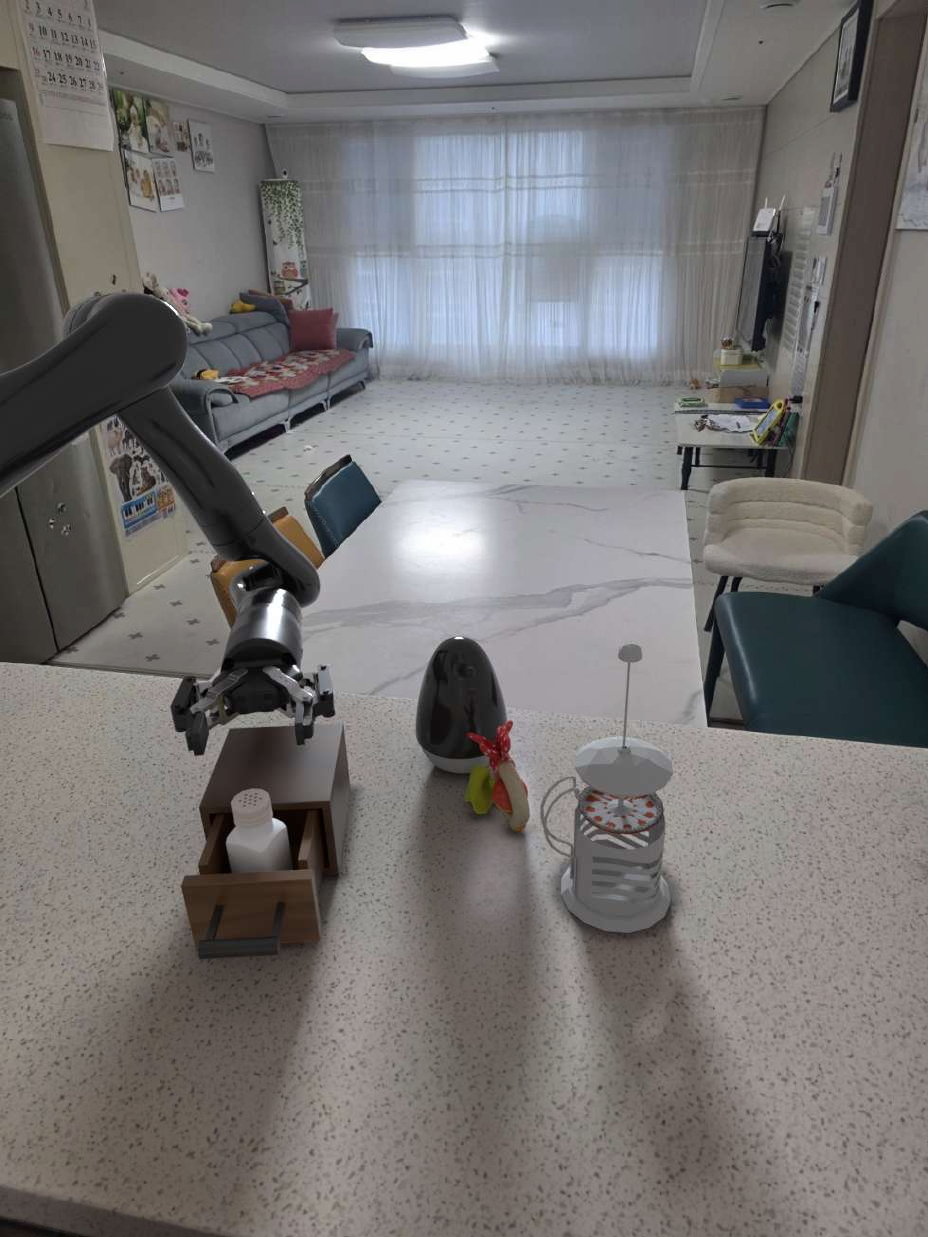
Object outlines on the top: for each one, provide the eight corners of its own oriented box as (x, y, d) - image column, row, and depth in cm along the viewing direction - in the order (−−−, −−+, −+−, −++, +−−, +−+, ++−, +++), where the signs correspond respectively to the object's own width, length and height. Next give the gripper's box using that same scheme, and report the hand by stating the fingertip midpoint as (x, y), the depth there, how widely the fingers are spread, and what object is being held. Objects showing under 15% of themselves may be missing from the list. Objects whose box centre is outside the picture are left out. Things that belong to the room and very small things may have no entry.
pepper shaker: (259, 865, 75) (244, 781, 71) (297, 876, 74) (284, 790, 70) (233, 895, 72) (215, 809, 68) (271, 907, 71) (256, 819, 66)
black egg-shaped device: (427, 795, 87) (419, 669, 80) (410, 741, 96) (402, 624, 89) (520, 779, 89) (520, 655, 82) (494, 727, 98) (492, 612, 91)
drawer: (313, 991, 64) (302, 927, 61) (178, 998, 64) (162, 934, 61) (334, 847, 79) (327, 789, 76) (225, 852, 79) (214, 795, 76)
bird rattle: (544, 835, 84) (504, 763, 89) (570, 777, 76) (525, 702, 81) (490, 855, 82) (452, 780, 87) (511, 798, 73) (468, 719, 79)
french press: (685, 928, 70) (715, 671, 59) (549, 939, 69) (554, 681, 58) (653, 849, 79) (674, 612, 68) (532, 857, 78) (534, 620, 67)
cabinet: (339, 875, 77) (329, 801, 73) (214, 881, 76) (198, 807, 73) (350, 790, 88) (343, 723, 84) (242, 795, 88) (229, 728, 84)
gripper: (185, 625, 81) (153, 712, 67) (330, 612, 83) (329, 695, 69) (198, 690, 85) (170, 787, 70) (338, 677, 86) (338, 769, 72)
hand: (248, 741), depth 69 cm, fingers open, 8 cm apart
